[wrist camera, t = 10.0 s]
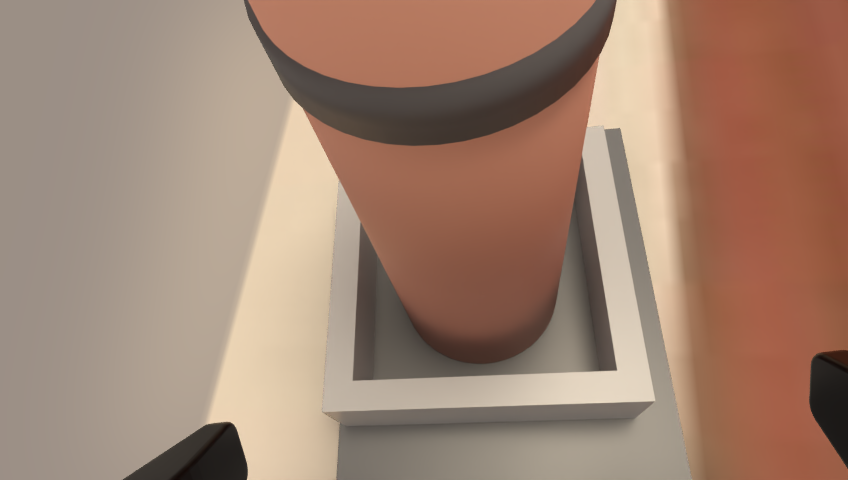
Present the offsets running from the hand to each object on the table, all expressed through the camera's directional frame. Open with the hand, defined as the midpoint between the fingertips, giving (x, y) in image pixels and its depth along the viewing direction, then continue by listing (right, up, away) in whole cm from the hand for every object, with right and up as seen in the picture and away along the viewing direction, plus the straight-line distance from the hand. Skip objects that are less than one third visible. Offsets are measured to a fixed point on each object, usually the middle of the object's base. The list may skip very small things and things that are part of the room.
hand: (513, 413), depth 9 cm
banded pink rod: (0, +1, +10) cm, 10 cm away
